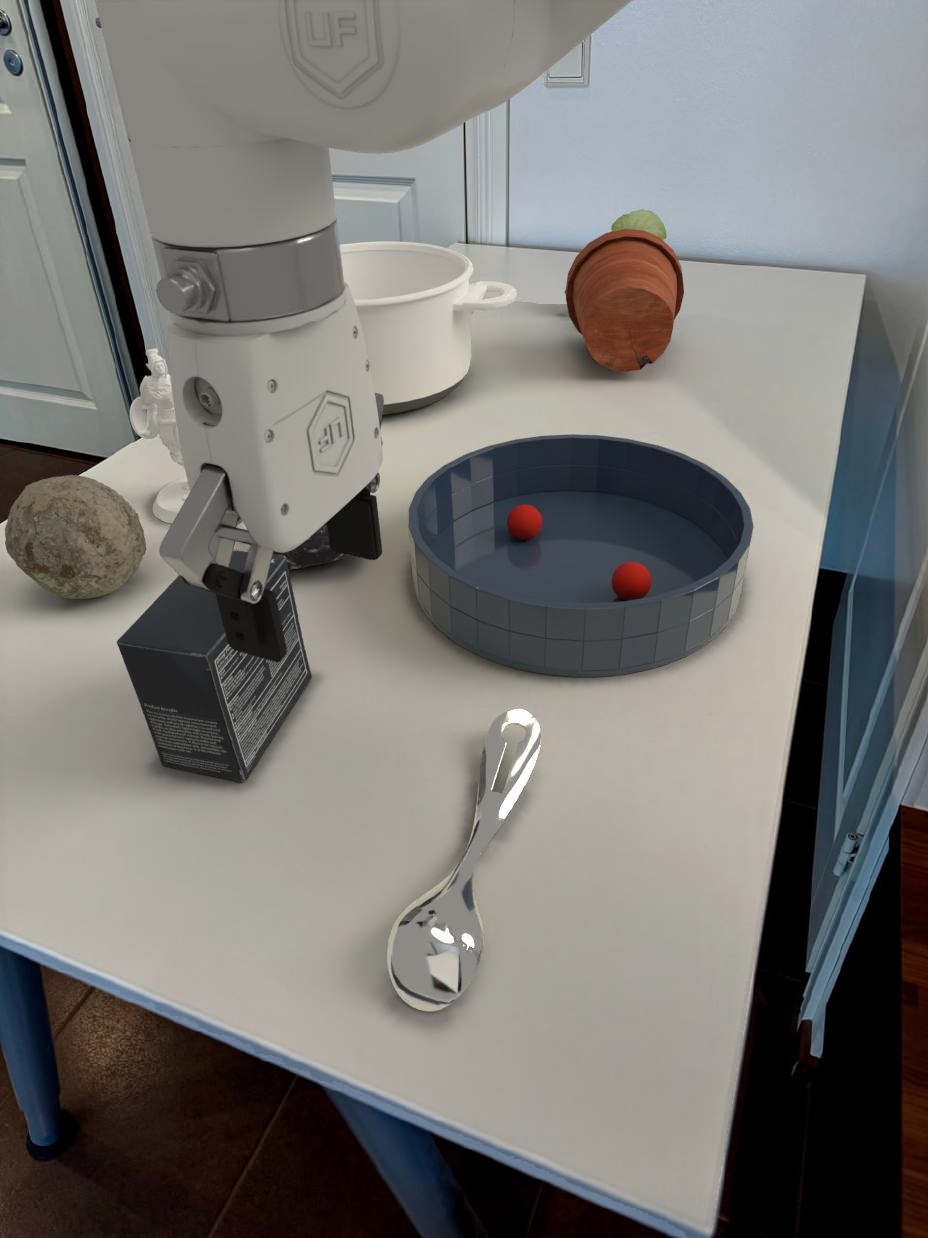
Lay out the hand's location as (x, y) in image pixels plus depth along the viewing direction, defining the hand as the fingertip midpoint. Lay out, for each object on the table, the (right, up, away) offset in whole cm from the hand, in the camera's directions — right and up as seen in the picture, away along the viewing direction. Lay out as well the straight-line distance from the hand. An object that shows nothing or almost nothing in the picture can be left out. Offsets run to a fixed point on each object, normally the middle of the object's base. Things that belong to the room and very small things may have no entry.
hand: (311, 599), depth 47 cm
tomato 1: (+13, +7, +27) cm, 31 cm away
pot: (-2, +26, +57) cm, 63 cm away
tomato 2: (+21, +2, +20) cm, 29 cm away
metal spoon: (+9, -14, +3) cm, 17 cm away
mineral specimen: (-5, +4, +28) cm, 29 cm away
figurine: (-17, +10, +37) cm, 42 cm away
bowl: (+17, +3, +25) cm, 30 cm away
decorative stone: (-22, +1, +25) cm, 34 cm away
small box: (-7, -8, +12) cm, 16 cm away
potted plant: (+28, +37, +69) cm, 83 cm away
